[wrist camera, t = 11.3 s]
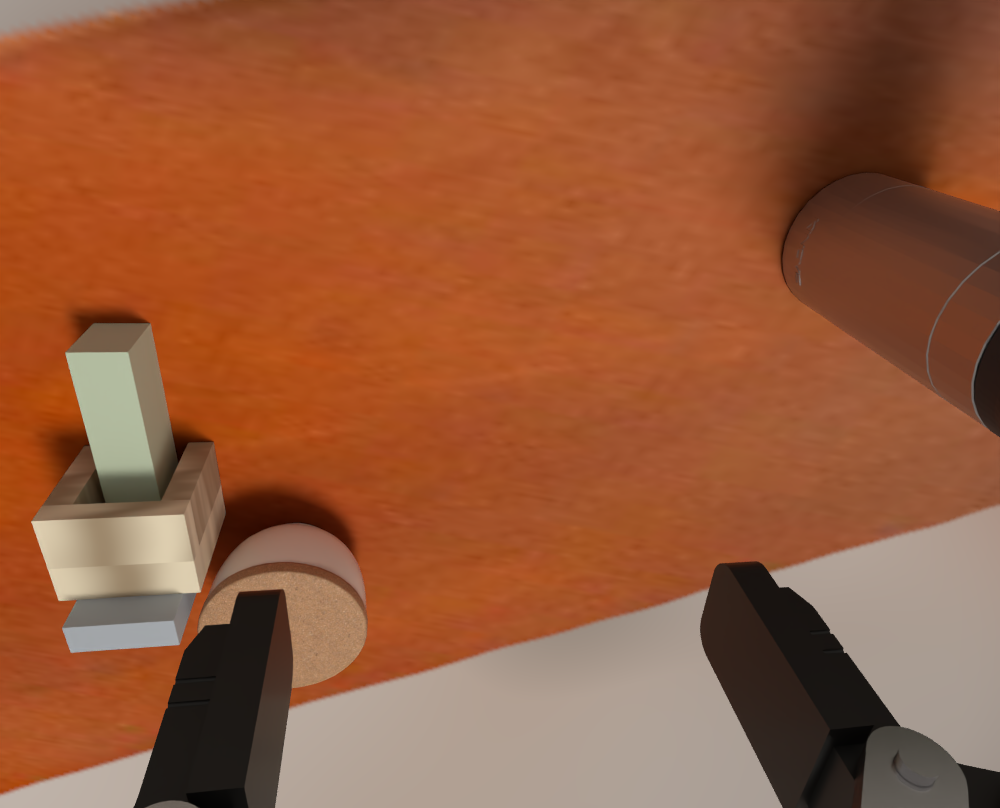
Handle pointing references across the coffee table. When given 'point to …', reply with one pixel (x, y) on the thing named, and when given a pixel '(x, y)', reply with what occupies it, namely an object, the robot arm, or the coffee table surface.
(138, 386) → the pale green rectangular bar
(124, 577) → the block
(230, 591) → the lidded jar
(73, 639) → the wall
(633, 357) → the coffee table surface
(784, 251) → the robot arm
